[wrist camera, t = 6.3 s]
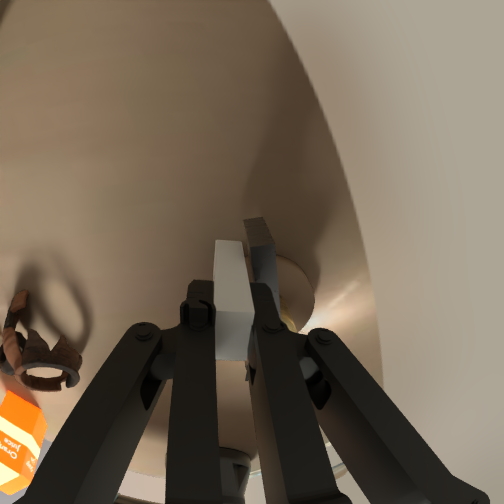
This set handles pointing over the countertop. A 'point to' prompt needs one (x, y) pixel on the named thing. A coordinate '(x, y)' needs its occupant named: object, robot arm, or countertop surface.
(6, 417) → the orange juice
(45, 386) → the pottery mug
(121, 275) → the countertop surface
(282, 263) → the dial base
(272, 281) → the knob
